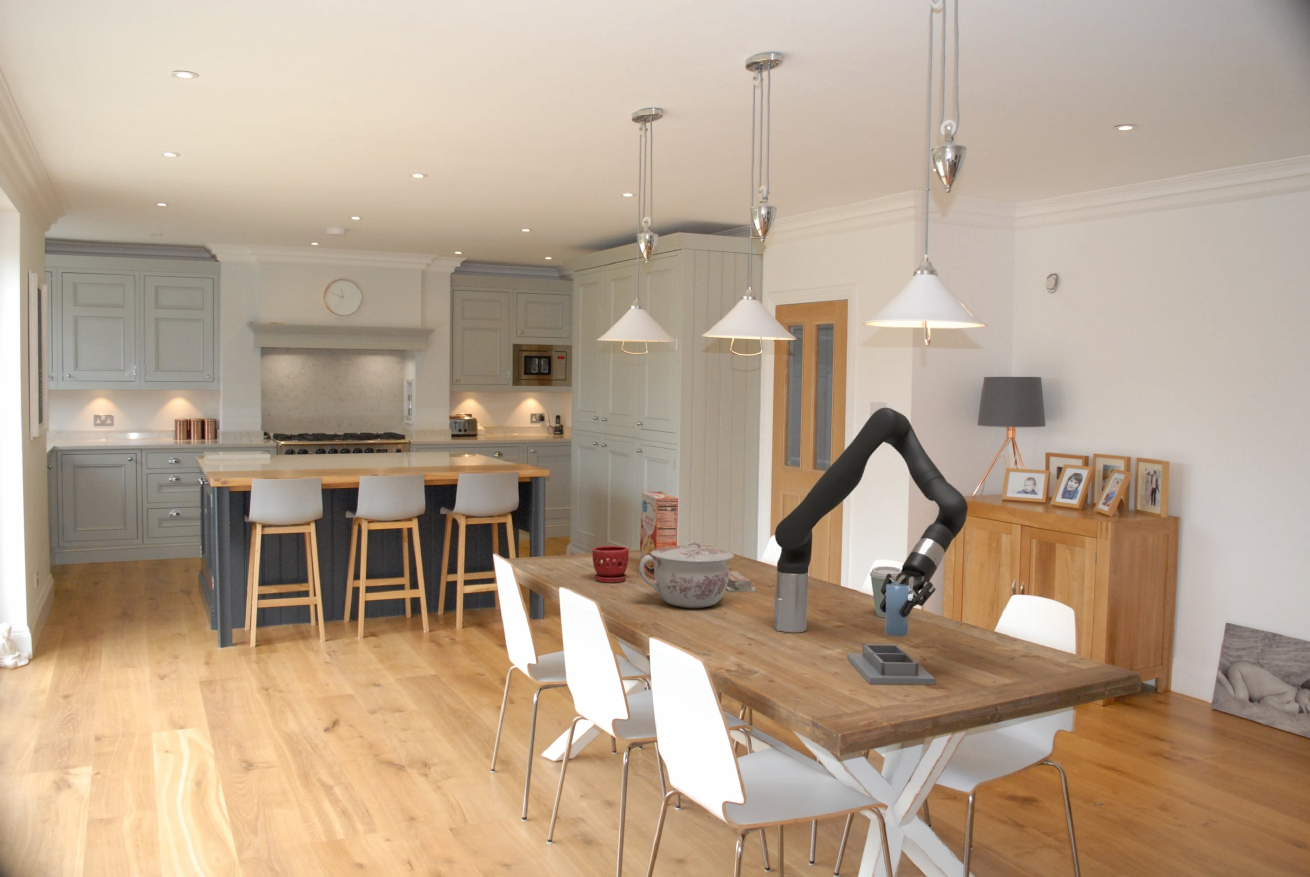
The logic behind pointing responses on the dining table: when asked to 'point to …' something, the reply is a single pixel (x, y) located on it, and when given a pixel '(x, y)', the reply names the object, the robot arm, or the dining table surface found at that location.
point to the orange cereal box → (657, 525)
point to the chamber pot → (689, 574)
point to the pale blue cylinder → (896, 609)
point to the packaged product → (739, 583)
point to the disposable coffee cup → (881, 584)
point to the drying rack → (889, 666)
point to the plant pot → (610, 563)
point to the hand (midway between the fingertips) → (892, 612)
